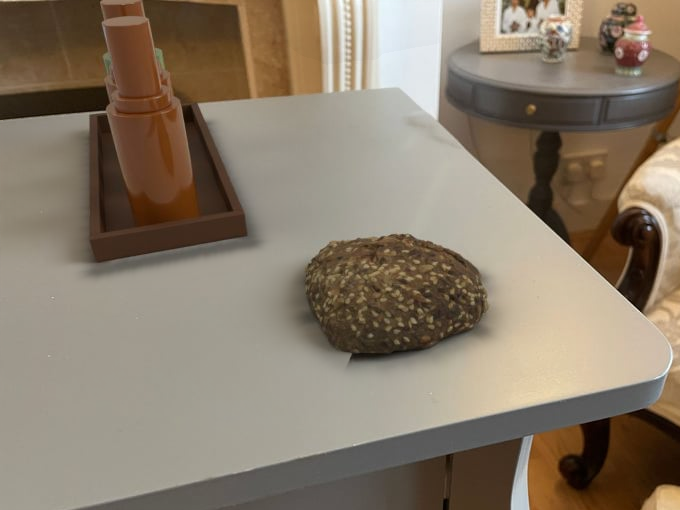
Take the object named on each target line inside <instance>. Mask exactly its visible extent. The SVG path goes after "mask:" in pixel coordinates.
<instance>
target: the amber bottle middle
mask: <svg viewBox="0 0 680 510" xmlns="http://www.w3.org/2000/svg"><path fill="white" fill-rule="evenodd" d="M99 4H100V9H101V12H102V17H103V21H105V20H107V19H111V18H116V17H125V16H140V17H146V12H145V8H144V3H143V0H101V1H100V2H99ZM157 62H158V67H159V73H160V78H161V83H162V85H165V86H167V87H168V88H169V89H170V93H171V96H174V97H175V92H174V87H173V81H172V75H171V73H170V72H169V71H168V70H167V69H166V70H164V69H162V67H161V62H160V61H159V60H157ZM109 71H110V75H108V76H107V75H106V76H105V77H104V79H103V83H104V86H105V90H106V95H107V99H108V103H109V104H110V103H112V102H113V101H112V97H111V95H112V93H113V92H114V91H115V90H117V87H116V83H115V78H114V74H113V70H112V66H111V64H110V65H109Z"/></svg>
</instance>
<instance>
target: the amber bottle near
mask: <svg viewBox="0 0 680 510" xmlns="http://www.w3.org/2000/svg"><path fill="white" fill-rule="evenodd" d="M101 27H102V31H103V36H104V40H105V44H106V48H107V52H108V53H109V57H110V61H111V66H112V70H113V74H114V78H115V83H116V87H117V90H115V91H114V92H113V93H112V95H111V97H112V101H113V102H112V103H109V104H107V106H106V108H105V113H106V112H107V116H108V120H109V124H110V128H111V132H112V136H113V140H114V144H115V148H116V152H117V156H118V160H119V164H120V168H121V172H122V176H123V180H124V184H125V188H126V192H127V196H128V200H129V204H130V208H131V212H132V216H133V220H134V224H135V228H136V227H142V226H148V225H154V224H160V223H166V222H172V221H178V220H184V219H190V218H196V217H201V212H200V206H199V201H198V195H197V190H196V184H195V179H194V173H193V168H192V163H191V157H190V152H189V146H188V141H187V135H186V130H185V124H184V119H183V113H182V108H181V104H182V103H181V100H180V98H178V97H177V96H175V95H174V96H171V93H170V89H169V88H168V87H167V86H165V85H162V83H161V78H160V73H159V67H158V62H157V57H156V52H155V48H156V46H155V47H154V45H155V41H154V38H153V33H152V32H153V31H152V28H151V22H150V19H149V18H148V17H146V16H145V17H140V16H125V17H116V18H111V19H107V20H105V21H104V20H103V21H101ZM153 41H154V42H153Z"/></svg>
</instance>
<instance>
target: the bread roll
mask: <svg viewBox="0 0 680 510" xmlns="http://www.w3.org/2000/svg"><path fill="white" fill-rule="evenodd" d="M310 261H311V262H310V263H307V265H306V267H305V268H304V269H305V284H304V291H305V293H306V297H307V299H308V303H309V306H310V309H311V310H312V312H313V314H314V316H315V318H316V319H317V320H318V321H319V323H320V327H322V331H323V332H324V334H325V335H326V337H327V339H328V342H330V343H331V345H332V346H334V347H335V348H336V349H338V350H339V351H342V352H351V353H352V354H362V353H364V354H387V355H388V354H389V355H390V354H392V353H393V352H394V351H409V350H425V349H427V348H431V347H434V346H436V345H437V344H438V343H439V342H440V341H441V340H444V339H446V338H448V337H451V336H454V335H456V334H460V333H464V332H467V331H471V330H473V329H474V328H475V327H476V326H477V325H478V324H480V322H481V321H482V319H483V317H484V316H485V314H486V313H487V311H488V310H489V307H490V304H489V301H488V300H487V299H488V296H489V295H488V292H487V290H486V288H485V287H484V286H483V283H482V274H481V273H480V270H479V268H478V267H477V266H475V265H474V264H473V263H472V261H470V260H468V259H466V258H464V257H463V256H462V255H461V254H460V253H458V252H457V251H455V250H453V249H450V248H448V247H443V245H441V244H436V243H434V242H432V241H431V240H425V239H420V238H419V239H418V238H417V237H415V236H414V235H413V234H410V233H399V234H398V233H391V234H389V235H381V236H379V237H378V236H377V237H376V236H369V237H357V238H355V239H347V240H345V239H341V240H330V241H329V242H328V244H327V245H326V246H325V247H323V248H320V250H319V251H318V254H315V255H314V257H312V258H311V260H310Z"/></svg>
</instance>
